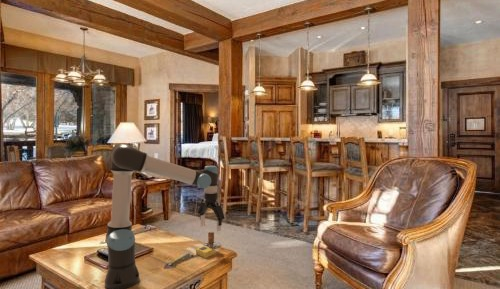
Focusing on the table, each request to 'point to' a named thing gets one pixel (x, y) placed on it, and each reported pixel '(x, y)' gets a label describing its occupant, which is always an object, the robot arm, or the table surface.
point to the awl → (211, 239)
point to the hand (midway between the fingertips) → (210, 228)
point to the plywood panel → (192, 250)
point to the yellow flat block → (204, 251)
